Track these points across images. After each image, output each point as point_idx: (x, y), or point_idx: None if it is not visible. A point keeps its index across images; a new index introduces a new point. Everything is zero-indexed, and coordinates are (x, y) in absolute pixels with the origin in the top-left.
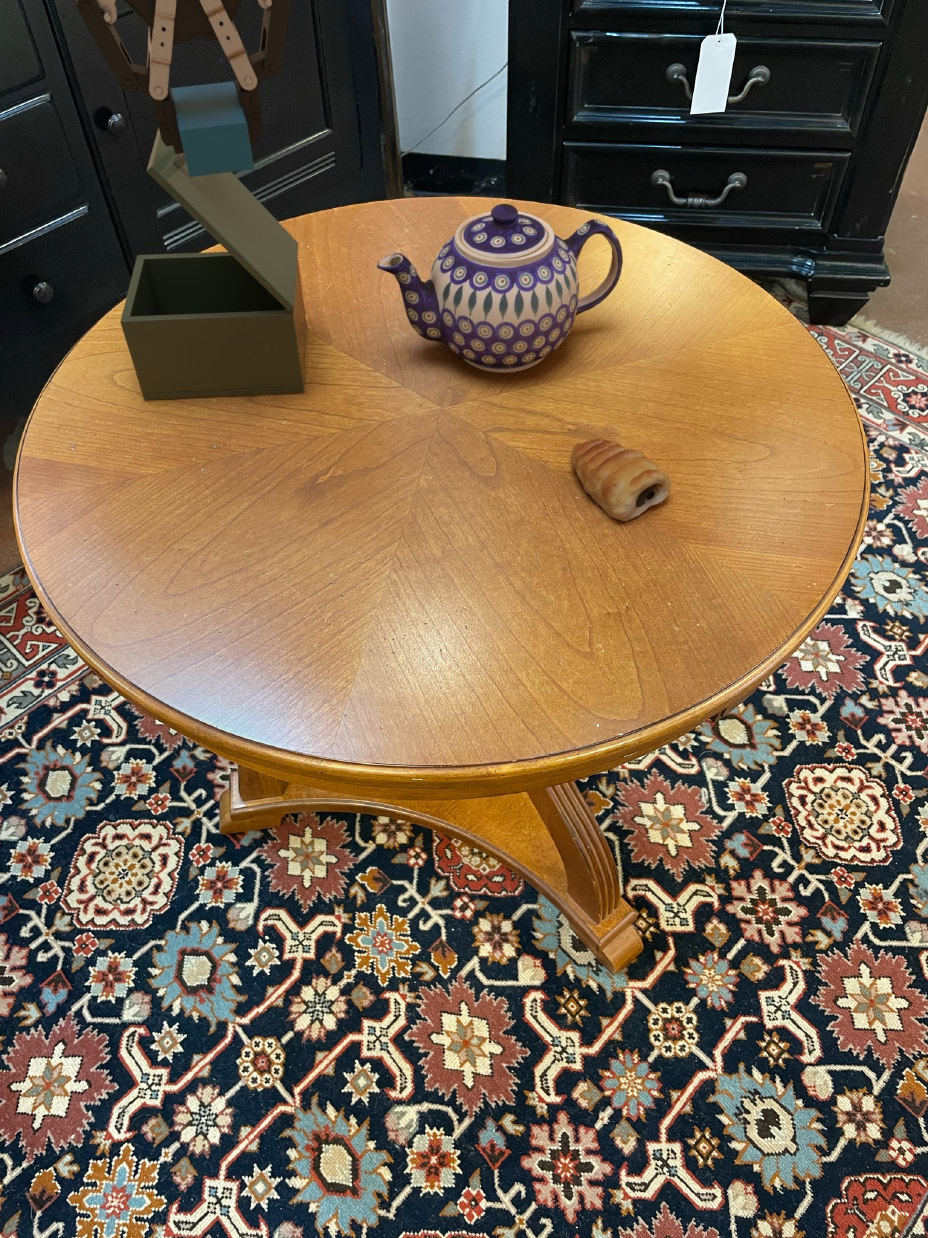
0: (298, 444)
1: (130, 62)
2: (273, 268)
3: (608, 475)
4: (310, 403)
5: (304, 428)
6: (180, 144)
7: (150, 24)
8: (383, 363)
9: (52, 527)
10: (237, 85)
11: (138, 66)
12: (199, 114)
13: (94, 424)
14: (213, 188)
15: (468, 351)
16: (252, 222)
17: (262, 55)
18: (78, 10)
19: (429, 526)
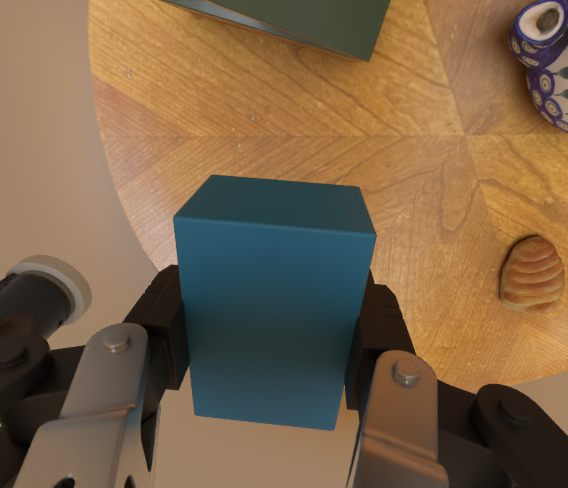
0: (322, 141)
1: (16, 401)
2: (365, 2)
3: (520, 294)
4: (351, 82)
5: (334, 120)
6: None
7: None
8: (451, 33)
9: (126, 172)
10: (357, 376)
11: (51, 402)
12: (242, 377)
13: (144, 40)
14: None
15: (535, 105)
16: None
17: (469, 474)
18: None
19: (382, 259)
